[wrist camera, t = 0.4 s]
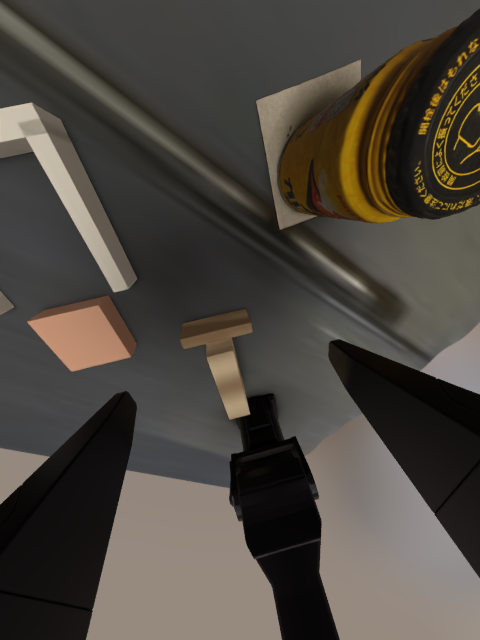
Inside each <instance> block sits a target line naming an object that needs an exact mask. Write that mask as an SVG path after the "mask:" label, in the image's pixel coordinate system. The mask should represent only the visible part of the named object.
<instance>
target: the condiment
mask: <svg viewBox="0 0 480 640" xmlns="http://www.w3.org/2000/svg"><path fill="white" fill-rule="evenodd" d="M360 73H361V60H359V61H356V62H354V63H351V64H349V65H347V66H345V67H342V68H340V69H337V70H335V71H332V72H330V73H327V74H325V75H322V76H320V77H317V78H315V79H312V80H309V81H307V82H304V83H302V84H300V85H299V86H294V87H291V88H289V89H286V90H283V91H281V92H278V93H276V94H273V95H270V96H267V97H265V98H262V99H260V100H257V101H256V103H257V109H258V113H259V118H260V125H261V130H262V135H263V140H264V146H265V152H266V157H267V163H268V169H269V175H270V181H271V186H272V191H273V197H274V202H275V208H276V213H277V219H278V224H279V228H280V230H281V229H284V228H286V227H289V226H292V225H294V224H297V223H300V222H302V221H305V220H308V219H311V218H313V217H316V216H321V217H332V218H338V219H348V220H356V221H363V222H369V223H384V222H390V221H396V220H398V219H400V218H405V217H418V218H421V219H422V218H427V219H432V220H434V219H440V218H443V217H447V216H450V215H453V214H457V213H460V212H463V211H465V210H467V209H469V208H471V207H474V206H477V205H479V204H480V9H479V10H477V11H476V12H474V13H473V15H472V16H471V17H469V18H468V19H466V20H465V21H463V22H462V23H461V24H460V25H459V26H457V27H454V28H452V29H449V30H447V31H445V32H444V33H442V34H441V35H439V36H438V37H437V38H431V39H428V40H421V41H418V42H416V43H414V44H412V45H410V46H408V47H406V48H405V49H403V50H401V51H400V52H398V53H397V54H396V55H394V56H393V57H392V58H390V59H389V60H387V61H386V62H385V63H384V64H382V65H381V66H379V67H378V68H377V69H376V70H374V71H373V72H371V73H370V74H368V75H367V76H365V77H364V78H363V79H362V80H361V74H360ZM291 125H292V129H291V131H289V128H290V126H291ZM288 133H289V134H290V136H289V137H288V138H287V134H288Z"/></svg>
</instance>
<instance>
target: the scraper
mask: <svg viewBox="0 0 480 640" xmlns="http://www.w3.org/2000/svg"><path fill="white" fill-rule="evenodd" d="M252 332H253V331H252V326H251V321H250V319H249V316H248V314H247V311H246V309H242V310H237V311H233V312H229V313H225V314H221V315H216V316H212V317H208V318H204V319H200V320H195V321H191V322H187V323H183V324H182V330H181V336H180V341H181V344H182V346H183V348H184V349H187V348H191V347H195V346H199V345H203V344H206V357H207V360H208V363H209V366H210V368H211V371H212V374H213V376H214V379H215V382H216V385H217V387H218V390H219V393H220V395H221V398H222V401H223V404H224V406H225V409H226V412H227V414H228V417H229V420H230V419H234V418H238V417H242V416H246V415H250V411H249V407H248V402H247V397H246V393H245V388H244V384H243V379H242V376H241V372H240V368H239V364H238V360H237V356H236V352H235V348H234V345H233V341H232V337H236V336H240V335H244V334H248V333H252Z"/></svg>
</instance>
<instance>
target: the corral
mask: <svg viewBox="0 0 480 640" xmlns="http://www.w3.org/2000/svg"><path fill="white" fill-rule="evenodd" d="M30 152H34V153H35V155H36V156H37V158H38V160H39V162H40V163H41V165H42V167H43V169H44V170H45V172H46V174H47V176H48V177H49V179H50V181H51V183H52V184H53V186H54V188H55V190H56V191H57V193H58V195H59V197H60V198H61V200H62V202H63V204H64V205H65V207H66V209H67V211H68V212H69V214H70V216H71V218H72V220H73V221H74V223H75V225H76V227H77V228H78V230H79V232H80V234H81V235H82V237H83V239H84V241H85V242H86V244H87V246H88V248H89V249H90V251H91V253H92V255H93V256H94V258H95V260H96V262H97V263H98V265H99V267H100V269H101V270H102V272H103V274H104V276H105V277H106V279H107V281H108V283H109V284H110V286H111V288H112V290H113V291H114V292H118V291H123V290H127V289H129V288H130V287H131V286H132V285H133V284H134V282H135V281H136V280H137V277H136V275H135V273H134V271H133V269H132V266H131V264H130V262H129V260H128V258H127V256H126V254H125V252H124V250H123V248H122V246H121V244H120V242H119V240H118V237H117V235H116V233H115V231H114V229H113V227H112V225H111V223H110V221H109V219H108V217H107V215H106V213H105V211H104V208H103V206H102V204H101V202H100V200H99V198H98V196H97V194H96V192H95V190H94V188H93V186H92V184H91V181H90V179H89V177H88V175H87V173H86V171H85V169H84V167H83V165H82V163H81V161H80V159H79V157H78V155H77V152H76V150H75V148H74V146H73V144H72V142H71V140H70V138H69V136H68V134H67V132H66V130H65V128H64V126H63V123H62V121H61V119H59V118H57V117H55V116H54V115H52V114H50V113H48V112H47V111H45V110H43V109H41V108H40V107H38V106H36V105H34V104H33V103H27V104H22V105H17V106H12V107H7V108H2V109H0V158H5V157H10V156H15V155H20V154H25V153H30ZM12 308H14V306H13V304H12V303H11V302H10V301H9V300H8V299H7V298H6V297H5V296H4V294H3V293H2V292H1V291H0V315H1V314H3V313H5V312H7V311H9V310H10V309H12Z"/></svg>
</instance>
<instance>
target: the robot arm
mask: <svg viewBox="0 0 480 640" xmlns="http://www.w3.org/2000/svg"><path fill="white" fill-rule="evenodd" d="M328 356H329V360H330V362H331V364H332V365H333V367H334V369H335V371H336V373H337V374H338V376H339V378H340V380H341V381H342V383H343V385H344V387H345V388H346V390H347V392H348V393H349V395H350V396H351V397H352V399H353V400H354V402H355V403H356V404H357V406H358V407H359V409H360V410H361V411H362V413H363V414H364V415H365V417H366V418H367V420H368V421H369V423H370V424H371V426H372V427H373V428H374V430H375V431H376V433H377V434H378V435H379V437H380V438H381V440H382V441H383V442H384V444H385V445H386V447H387V448H388V449H389V451H390V452H391V454H392V455H393V456H394V458H395V459H396V461H397V462H398V464H399V465H400V466H401V468H402V469H403V471H404V472H405V473H406V475H407V476H408V477H409V479H410V480H411V482H412V483H413V485H414V486H415V487H416V489H417V490H418V492H419V493H420V494H421V496H422V497H423V499H424V500H425V502H426V503H427V504H428V506H429V507H430V508H431V510H432V511H433V512H434V513H435V516H436V517H437V519H438V520H439V521H440V523H441V524H442V526H443V527H444V529H445V530H446V531H447V533H448V534H449V536H450V537H451V538H452V540H453V541H454V543H455V544H456V545H457V547H458V548H459V550H460V551H461V552H462V554H463V555H464V557H465V558H466V559H467V561H468V562H469V563H470V565H471V566H472V568H473V569H474V571H475V572H476V573H477V575H478V576H479V578H480V394H477V393H474V392H472V391H469V390H466V389H464V388H461V387H458V386H456V385H453V384H451V383H448V382H446V381H443V380H441V379H436V378H435V377H433V376H430V375H428V374H425V373H423V372H420V371H418V370H415V369H413V368H410V367H408V366H405V365H403V364H400V363H398V362H395V361H393V360H390V359H388V358H385V357H383V356H380V355H378V354H375V353H373V352H370V351H368V350H365V349H362V348H360V347H357V346H355V345H352V344H350V343H347V342H345V341H342V340H339V339H338V340H333V341H330V343H329V353H328ZM247 402H248V407H249V411H250V415H246V416H242V417H238V418H236V421H237V424H238V427H239V429H240V432H241V439H242V445H243V451H244V452H240V453H237V454H236V453H234V454H231V461H230V472H231V482H230V496H229V500H230V504H231V505H232V506H233V507H234V509H235V512H236V515H237V518H238V520H239V521H243V527H244V534H245V540H246V544H247V546H248V548H249V550H250V552H251V554H252V556H253V558H254V559H256V560H257V562H258V564H259V565H260V567H261V569H262V570H263V572H264V574H265V575H266V577H267V579H268V580H269V582H270V584H271V585H272V588H273V593H274V599H275V604H276V609H277V615H278V620H279V625H280V631H281V636H282V640H340V639H339V636H338V633H337V630H336V626H335V623H334V620H333V616H332V613H331V610H330V606H329V603H328V600H327V597H326V593H325V590H324V587H323V583H322V580H321V577H320V573H319V567H320V545H321V518H320V515H319V512H318V509H317V506H316V503H315V500H316V499H319V495H318V491H317V488H316V484H315V481H314V478H313V476H312V473H311V470H310V468H309V466H308V463H307V461H306V459H305V456H304V454H303V452H302V450H301V448H300V445H299V443H298V441H297V439H296V436H294V437H291V438H290V439H286V440H284V437H283V434H282V431H281V428H280V425H279V422H278V415H277V408H276V401H275V396H274V394H269V395H266V396H262V397H258V398H254V399H250V400H247ZM136 411H137V405H136V402H135V401H134V400H133V398H132V397H131V395H130V394H129V393H128V392H127V391H124V392H120V393H117V394H115V395H114V396H113V397H112V398H111V399H110V400H109V401H108V402H107V403H106V404H105V405H104V406H103V407H102V408H101V409H100V410H99V411H97V412H96V413H95V414H94V415H93V416H92V417H91V418H90V419H89V420H88V421H87V422H86V423H85V424H84V425H83V426H82V427H81V428H80V429H79V430H78V431H77V432H76V433H75V434H74V435H72V436H71V437H70V438H69V439H68V440H67V441H66V442H65V443H64V444H63V445H62V446H61V447H60V448H59V449H58V450H57V451H56V452H55V453H54V454H53V455H52V456H51V457H50V458H48V459H47V460H46V461H45V462H44V463H43V464H42V465H41V466H40V467H39V468H38V469H37V470H36V471H35V472H34V473H33V474H32V475H31V476H30V477H29V478H28V479H27V480H26V481H25V482H24V483H23V484H22V485H21V486H20V487H18V488H17V489H16V490H15V491H14V492H13V493H12V494H11V495H10V496H9V497H8V498H7V499H6V500H5V501H4V502H3V503H2V504H0V640H86V637H87V633H88V629H89V624H90V619H91V616H92V612H93V611H92V609H93V607H94V602H95V598H96V594H97V590H98V585H99V581H100V577H101V573H102V569H103V565H104V560H105V556H106V552H107V547H108V543H109V539H110V535H111V531H112V527H113V522H114V518H115V514H116V510H117V506H118V501H119V497H120V493H121V489H122V484H123V480H124V476H125V472H126V468H127V463H128V459H129V455H130V451H131V446H132V440H133V433H134V426H135V418H136Z"/></svg>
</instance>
